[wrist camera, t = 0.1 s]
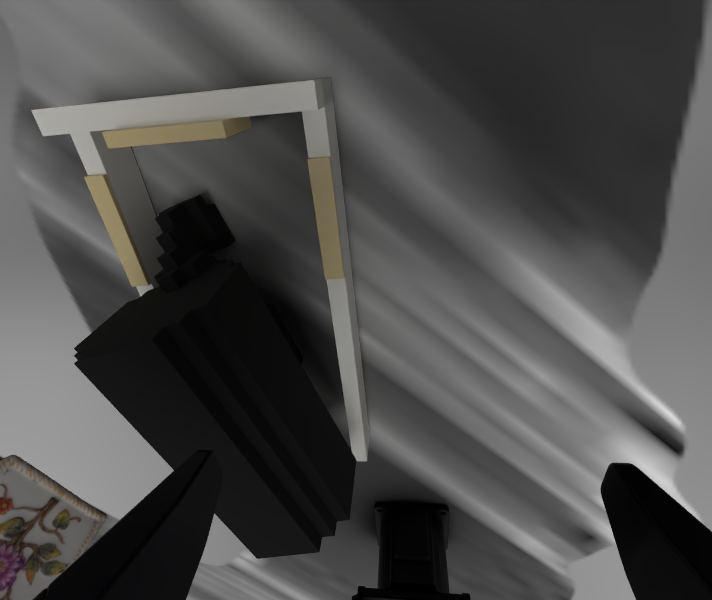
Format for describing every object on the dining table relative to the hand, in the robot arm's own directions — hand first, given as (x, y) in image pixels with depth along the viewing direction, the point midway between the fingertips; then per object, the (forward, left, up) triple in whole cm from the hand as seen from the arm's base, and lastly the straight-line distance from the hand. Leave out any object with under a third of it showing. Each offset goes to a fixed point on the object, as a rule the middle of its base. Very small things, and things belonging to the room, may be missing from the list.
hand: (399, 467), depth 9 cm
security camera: (-6, +9, -15) cm, 18 cm away
